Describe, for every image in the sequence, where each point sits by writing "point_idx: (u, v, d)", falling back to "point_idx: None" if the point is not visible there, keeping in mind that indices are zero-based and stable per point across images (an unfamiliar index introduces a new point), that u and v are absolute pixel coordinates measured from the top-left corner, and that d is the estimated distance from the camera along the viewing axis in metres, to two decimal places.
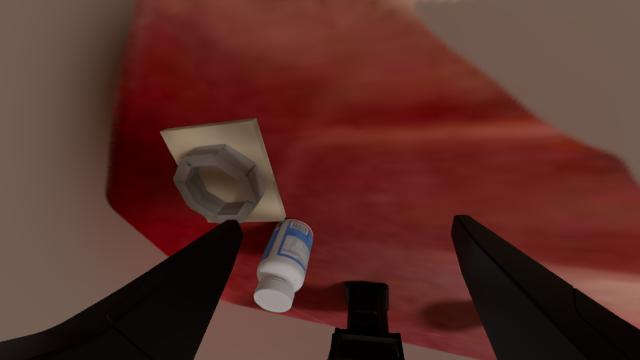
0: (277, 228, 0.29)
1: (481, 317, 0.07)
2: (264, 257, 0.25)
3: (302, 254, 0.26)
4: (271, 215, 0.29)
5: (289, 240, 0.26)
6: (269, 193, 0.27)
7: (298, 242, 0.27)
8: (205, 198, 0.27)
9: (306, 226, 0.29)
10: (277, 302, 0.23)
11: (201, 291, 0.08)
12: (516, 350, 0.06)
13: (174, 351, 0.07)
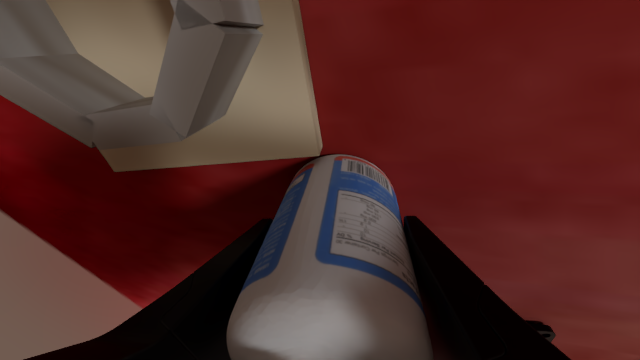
0: (300, 178, 0.10)
1: None
2: (259, 269, 0.06)
3: (406, 256, 0.07)
4: (281, 136, 0.09)
5: (353, 205, 0.07)
6: (277, 39, 0.08)
7: (383, 214, 0.07)
8: (57, 65, 0.08)
9: (383, 174, 0.10)
10: None
11: None
12: (438, 343, 0.06)
13: (222, 357, 0.07)
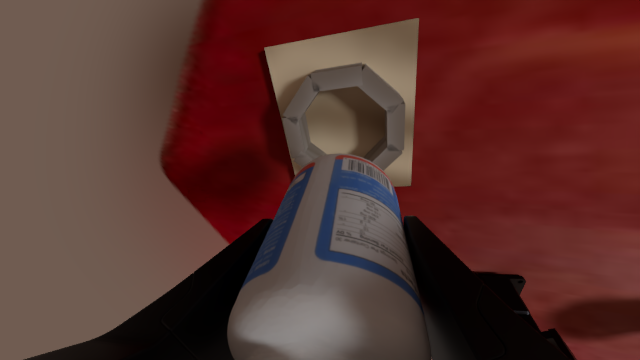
0: (301, 176, 0.10)
1: None
2: (260, 266, 0.06)
3: (405, 254, 0.07)
4: (394, 177, 0.21)
5: (352, 203, 0.07)
6: (404, 143, 0.19)
7: (382, 213, 0.07)
8: (312, 150, 0.20)
9: (384, 173, 0.10)
10: None
11: None
12: (438, 343, 0.06)
13: (222, 357, 0.07)
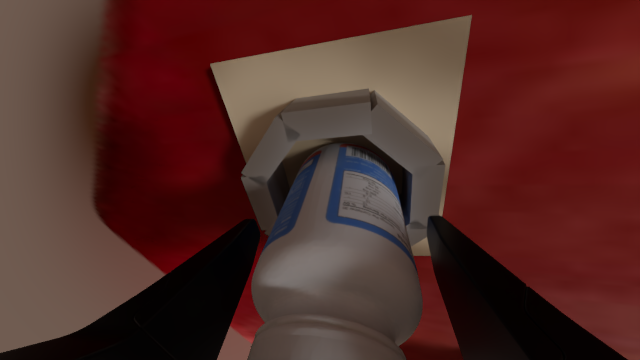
0: (309, 162, 0.11)
1: (449, 315, 0.07)
2: (278, 231, 0.07)
3: (401, 224, 0.08)
4: (413, 244, 0.15)
5: (356, 182, 0.08)
6: None
7: (382, 190, 0.09)
8: None
9: (383, 160, 0.11)
10: None
11: (223, 292, 0.08)
12: (475, 346, 0.06)
13: (198, 354, 0.07)
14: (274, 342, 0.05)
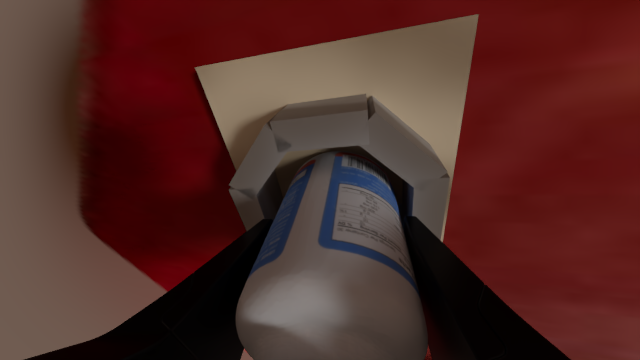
0: (302, 173, 0.10)
1: None
2: (266, 256, 0.06)
3: (402, 244, 0.07)
4: None
5: (353, 197, 0.08)
6: None
7: (381, 205, 0.08)
8: None
9: (382, 170, 0.10)
10: None
11: None
12: (438, 343, 0.06)
13: (222, 357, 0.07)
14: None
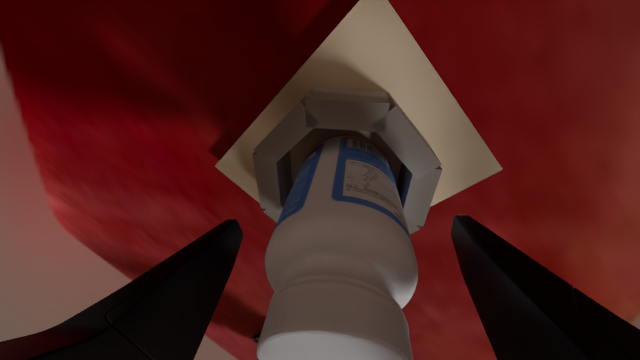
0: (313, 154, 0.12)
1: (481, 317, 0.07)
2: (289, 211, 0.08)
3: (398, 205, 0.09)
4: None
5: (357, 168, 0.09)
6: None
7: (381, 176, 0.09)
8: (284, 159, 0.13)
9: (381, 152, 0.12)
10: None
11: (201, 291, 0.08)
12: (516, 350, 0.06)
13: (174, 351, 0.07)
14: (291, 297, 0.06)
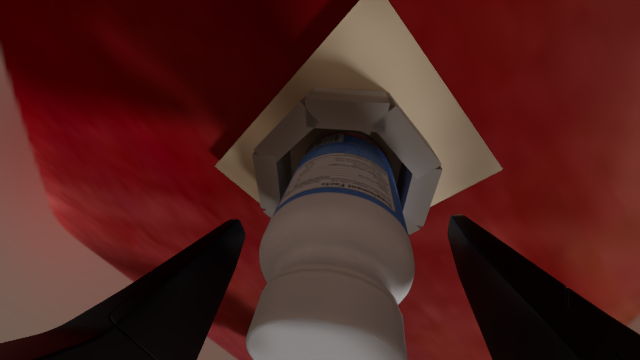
0: None
1: (477, 317, 0.07)
2: None
3: (337, 171, 0.08)
4: None
5: (297, 173, 0.10)
6: None
7: (318, 161, 0.09)
8: (284, 159, 0.13)
9: (336, 133, 0.12)
10: (337, 358, 0.05)
11: (204, 291, 0.08)
12: (510, 350, 0.06)
13: (177, 351, 0.07)
14: None
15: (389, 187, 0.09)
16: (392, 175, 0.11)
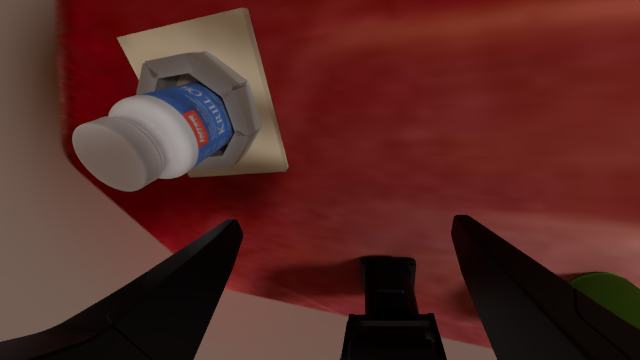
0: None
1: (481, 317, 0.07)
2: None
3: None
4: (269, 163, 0.22)
5: None
6: (267, 129, 0.20)
7: None
8: None
9: None
10: (102, 151, 0.12)
11: (201, 291, 0.08)
12: (516, 350, 0.06)
13: (174, 351, 0.07)
14: None
15: None
16: (189, 84, 0.17)
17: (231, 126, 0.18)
